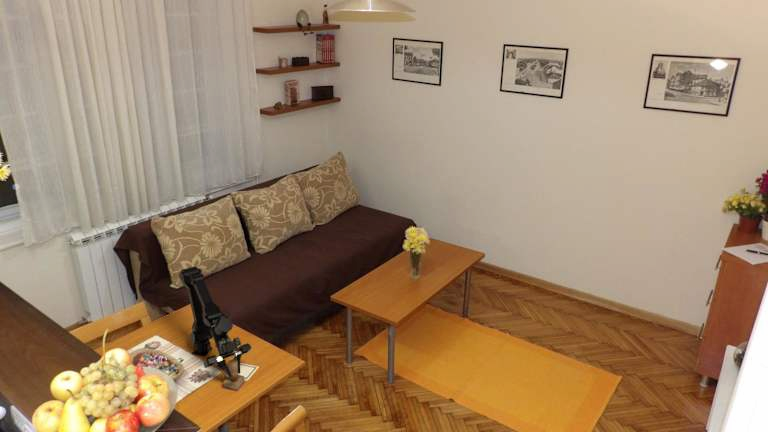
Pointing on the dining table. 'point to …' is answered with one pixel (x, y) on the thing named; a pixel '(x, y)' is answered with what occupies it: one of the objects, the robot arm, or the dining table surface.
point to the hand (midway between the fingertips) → (235, 375)
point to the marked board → (247, 370)
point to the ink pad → (229, 389)
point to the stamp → (233, 377)
